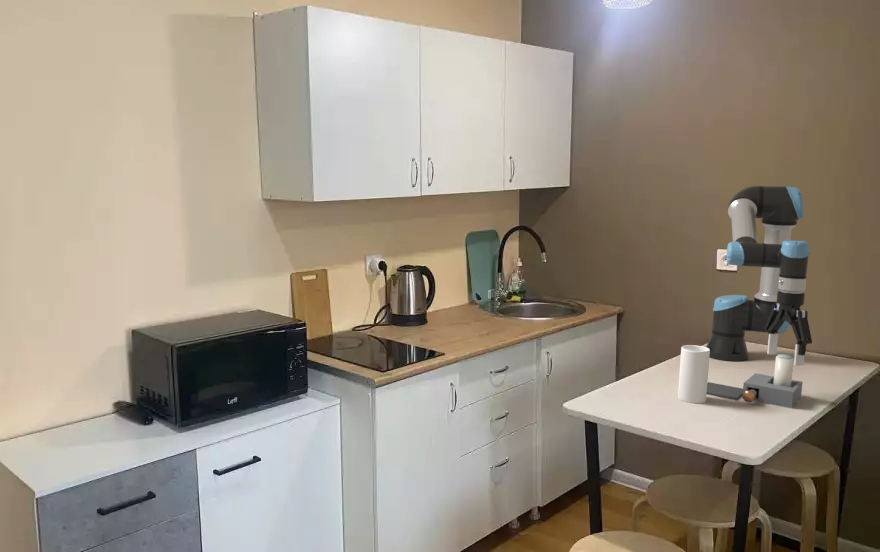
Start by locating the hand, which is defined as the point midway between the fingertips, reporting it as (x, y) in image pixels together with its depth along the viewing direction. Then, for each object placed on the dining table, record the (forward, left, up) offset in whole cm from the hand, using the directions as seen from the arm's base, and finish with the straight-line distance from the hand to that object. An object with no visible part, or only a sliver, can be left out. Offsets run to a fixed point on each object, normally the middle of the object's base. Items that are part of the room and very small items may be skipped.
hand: (784, 359), depth 222 cm
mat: (+5, -16, -12) cm, 21 cm away
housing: (+1, -2, -12) cm, 13 cm away
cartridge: (0, 0, -12) cm, 12 cm away
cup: (+19, -21, -13) cm, 31 cm away
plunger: (+8, -7, -12) cm, 16 cm away
